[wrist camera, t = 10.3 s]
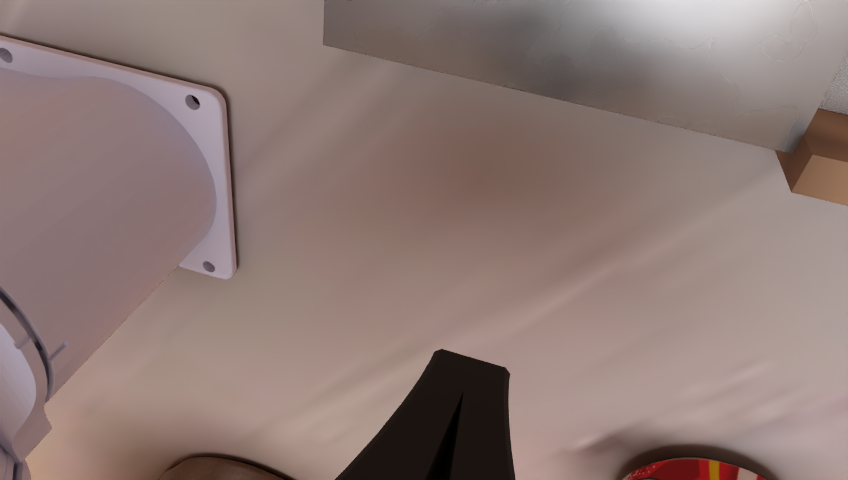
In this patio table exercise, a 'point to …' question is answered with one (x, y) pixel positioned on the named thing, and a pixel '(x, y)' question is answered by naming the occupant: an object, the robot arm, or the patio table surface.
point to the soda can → (691, 470)
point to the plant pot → (215, 470)
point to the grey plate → (624, 54)
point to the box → (820, 159)
